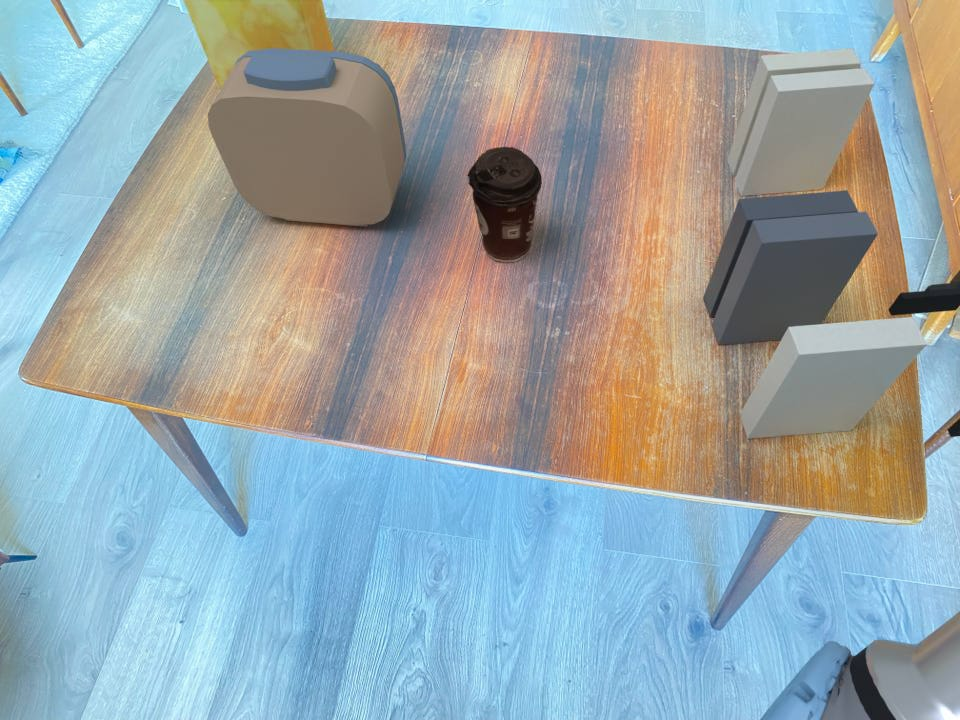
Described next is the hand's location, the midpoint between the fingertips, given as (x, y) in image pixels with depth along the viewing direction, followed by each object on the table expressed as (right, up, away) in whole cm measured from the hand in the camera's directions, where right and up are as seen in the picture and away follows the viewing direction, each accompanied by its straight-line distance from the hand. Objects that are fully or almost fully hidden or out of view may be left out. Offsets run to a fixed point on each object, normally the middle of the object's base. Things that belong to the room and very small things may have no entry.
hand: (923, 361), depth 64 cm
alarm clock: (-62, +22, +30) cm, 72 cm away
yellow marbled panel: (-73, +46, +47) cm, 98 cm away
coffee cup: (-38, +15, +25) cm, 48 cm away
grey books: (-9, +5, +16) cm, 19 cm away
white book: (-8, -6, +9) cm, 14 cm away
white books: (-2, +25, +29) cm, 39 cm away
